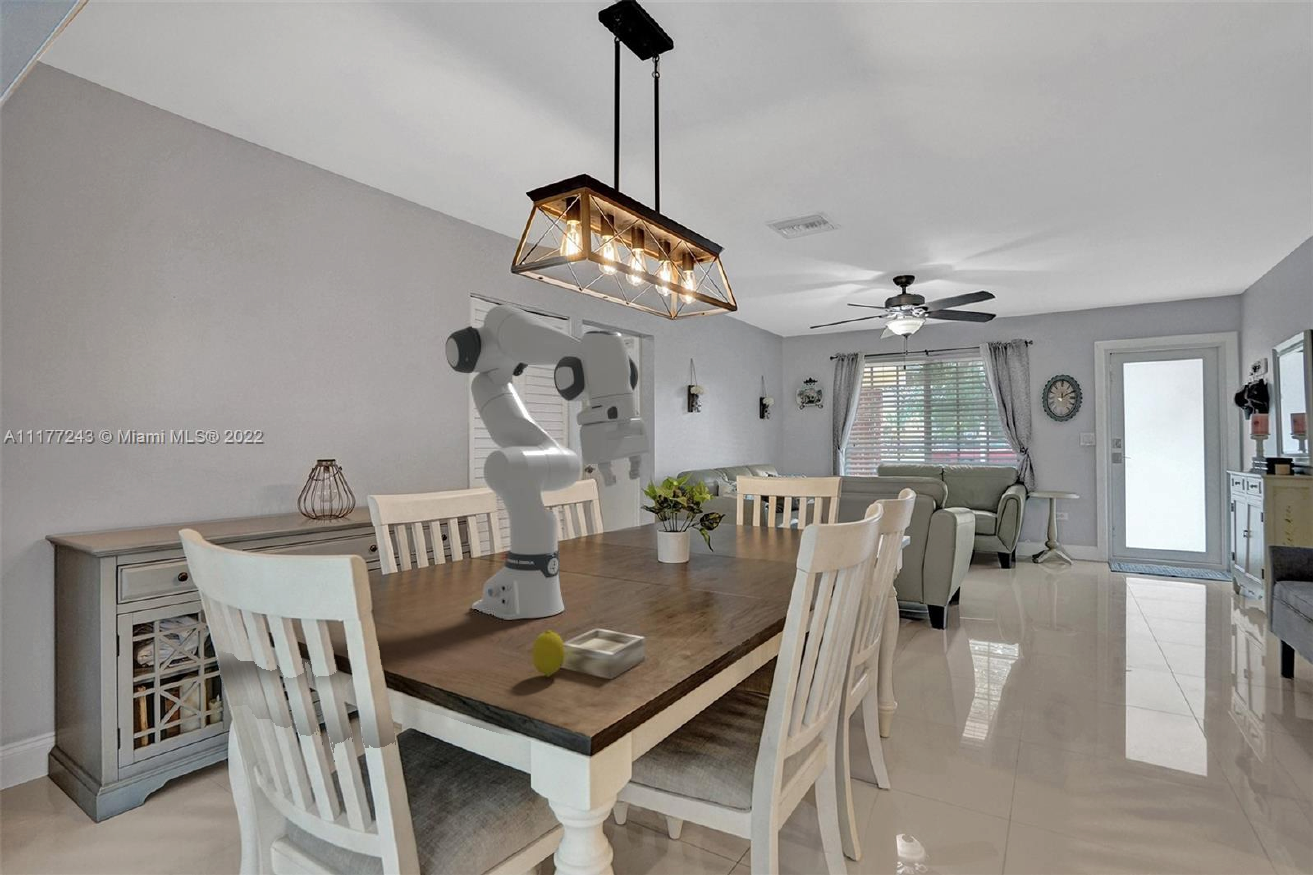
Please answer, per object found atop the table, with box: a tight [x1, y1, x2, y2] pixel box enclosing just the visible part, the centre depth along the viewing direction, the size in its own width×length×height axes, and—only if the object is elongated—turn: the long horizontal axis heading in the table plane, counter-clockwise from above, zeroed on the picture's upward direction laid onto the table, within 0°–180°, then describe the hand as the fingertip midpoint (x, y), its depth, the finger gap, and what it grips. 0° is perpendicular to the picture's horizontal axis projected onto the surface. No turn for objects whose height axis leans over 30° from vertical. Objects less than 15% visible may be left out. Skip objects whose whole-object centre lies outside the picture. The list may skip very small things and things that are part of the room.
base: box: [560, 627, 646, 680], centre depth 116 cm, size 11×11×4 cm
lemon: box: [531, 629, 565, 678], centre depth 109 cm, size 6×6×8 cm
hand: (623, 482), depth 124 cm, fingers open, 8 cm apart
